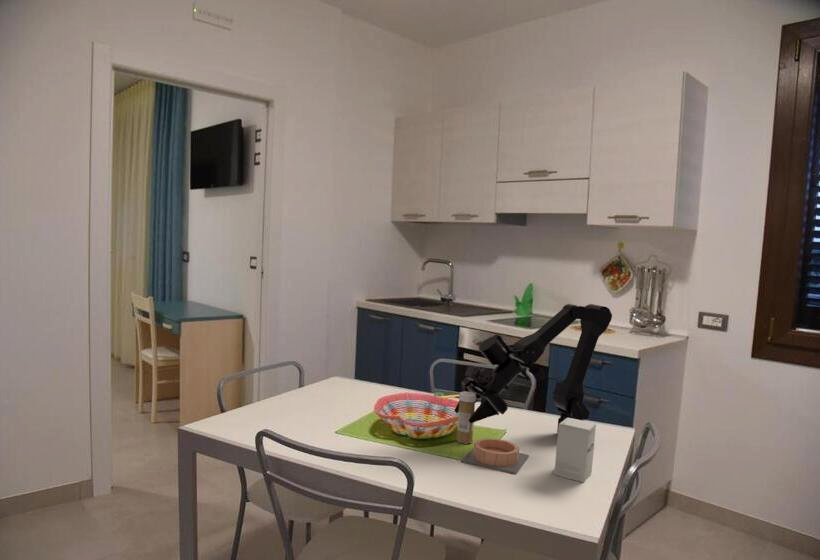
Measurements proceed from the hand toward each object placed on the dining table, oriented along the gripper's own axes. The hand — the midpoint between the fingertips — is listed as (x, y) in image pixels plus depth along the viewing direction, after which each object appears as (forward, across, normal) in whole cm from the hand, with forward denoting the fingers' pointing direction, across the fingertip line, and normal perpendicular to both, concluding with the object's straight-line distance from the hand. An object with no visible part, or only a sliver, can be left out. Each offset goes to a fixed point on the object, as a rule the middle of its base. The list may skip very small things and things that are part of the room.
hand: (462, 416), depth 157 cm
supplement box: (-8, +26, +18) cm, 32 cm away
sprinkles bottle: (+4, 0, +6) cm, 7 cm away
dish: (+2, +13, +8) cm, 16 cm away
